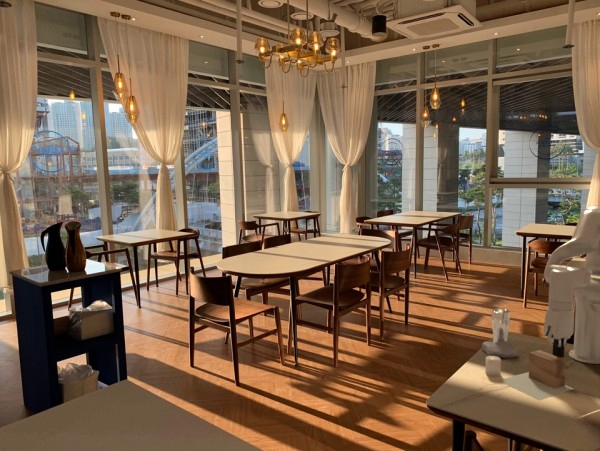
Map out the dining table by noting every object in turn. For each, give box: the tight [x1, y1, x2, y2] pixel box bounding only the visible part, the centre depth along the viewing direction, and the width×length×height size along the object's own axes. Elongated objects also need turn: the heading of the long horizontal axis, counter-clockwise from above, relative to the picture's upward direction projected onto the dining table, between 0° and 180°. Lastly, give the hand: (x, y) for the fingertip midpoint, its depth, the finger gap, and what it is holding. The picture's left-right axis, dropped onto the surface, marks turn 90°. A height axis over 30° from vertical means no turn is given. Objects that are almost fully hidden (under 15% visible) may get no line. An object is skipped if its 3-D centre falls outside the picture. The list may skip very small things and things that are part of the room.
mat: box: [497, 371, 574, 401], centre depth 160 cm, size 17×16×1 cm
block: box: [528, 349, 567, 389], centre depth 162 cm, size 5×10×9 cm, turn 26°
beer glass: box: [491, 308, 511, 343], centre depth 196 cm, size 7×7×15 cm
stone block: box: [481, 340, 518, 359], centre depth 189 cm, size 12×5×10 cm
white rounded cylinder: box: [484, 355, 502, 377], centre depth 169 cm, size 5×5×6 cm
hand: (558, 356), depth 164 cm, fingers closed
